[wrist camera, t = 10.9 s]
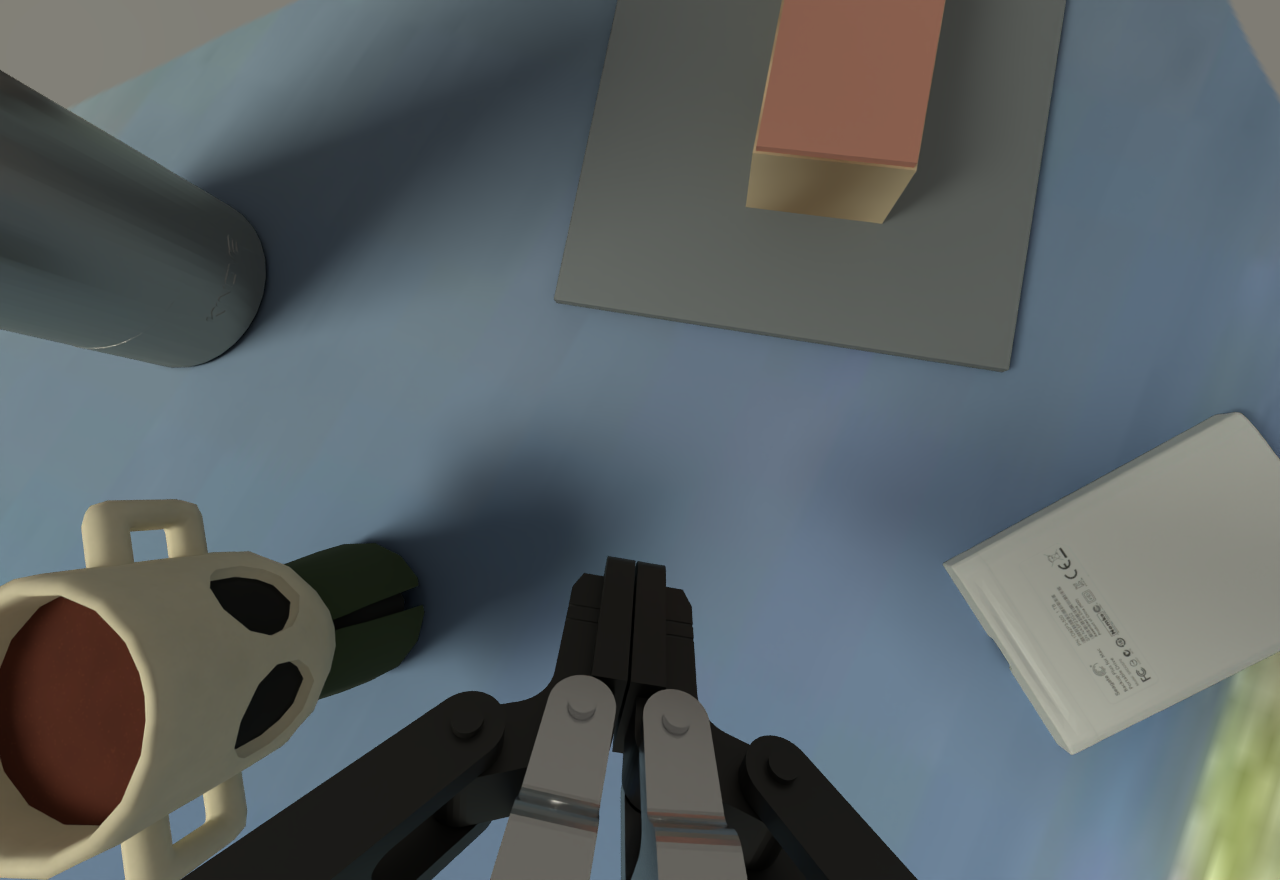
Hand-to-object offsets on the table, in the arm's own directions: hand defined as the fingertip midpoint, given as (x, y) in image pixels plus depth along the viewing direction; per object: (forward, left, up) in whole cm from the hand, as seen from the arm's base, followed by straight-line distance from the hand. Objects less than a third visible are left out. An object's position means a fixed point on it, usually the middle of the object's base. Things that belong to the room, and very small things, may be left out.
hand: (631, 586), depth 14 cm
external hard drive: (+19, +3, -11) cm, 22 cm away
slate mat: (+3, +20, -10) cm, 23 cm away
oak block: (+4, +16, -8) cm, 18 cm away
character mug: (-13, -6, -11) cm, 18 cm away
